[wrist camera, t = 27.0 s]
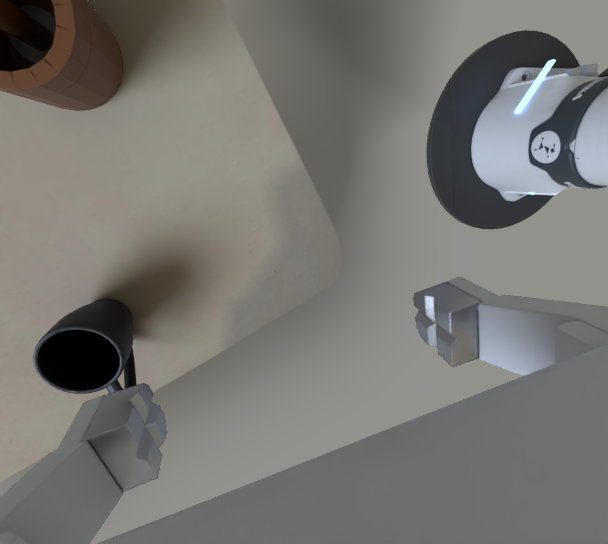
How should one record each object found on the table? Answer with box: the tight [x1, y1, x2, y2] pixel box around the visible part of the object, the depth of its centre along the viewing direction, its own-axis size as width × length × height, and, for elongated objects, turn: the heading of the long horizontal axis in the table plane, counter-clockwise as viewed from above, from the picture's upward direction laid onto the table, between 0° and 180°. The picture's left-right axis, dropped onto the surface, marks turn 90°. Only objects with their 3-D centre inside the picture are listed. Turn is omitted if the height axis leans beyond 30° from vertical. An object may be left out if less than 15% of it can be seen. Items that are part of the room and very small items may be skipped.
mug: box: [33, 299, 136, 394], centre depth 38 cm, size 8×12×10 cm
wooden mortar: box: [0, 0, 123, 110], centre depth 27 cm, size 10×10×12 cm
